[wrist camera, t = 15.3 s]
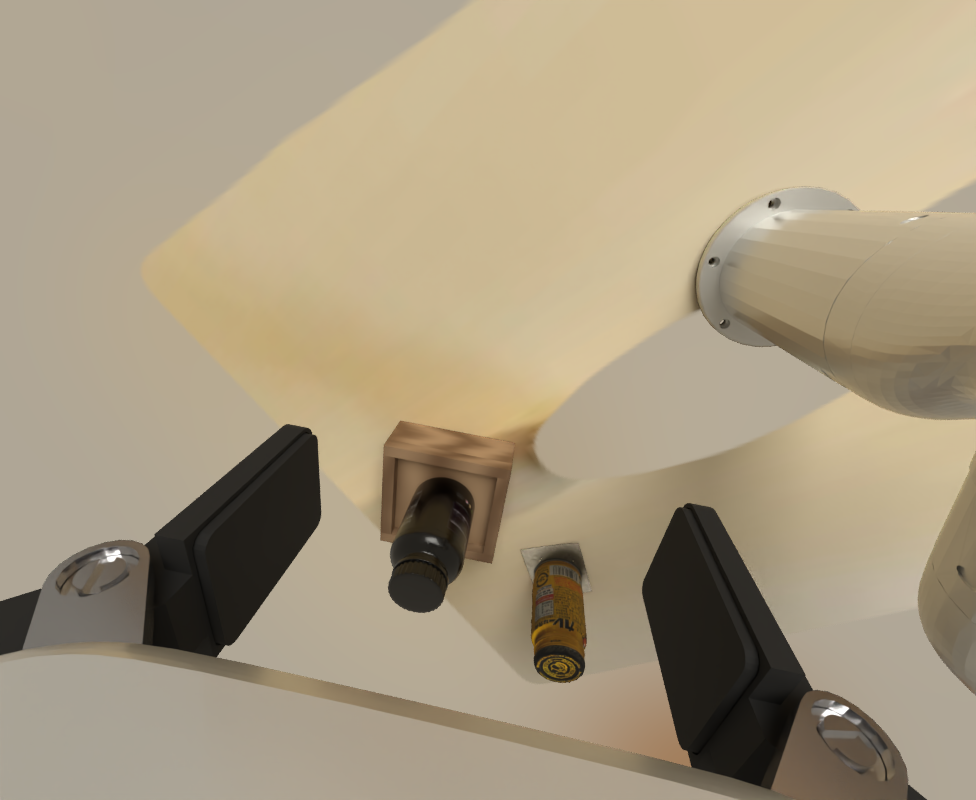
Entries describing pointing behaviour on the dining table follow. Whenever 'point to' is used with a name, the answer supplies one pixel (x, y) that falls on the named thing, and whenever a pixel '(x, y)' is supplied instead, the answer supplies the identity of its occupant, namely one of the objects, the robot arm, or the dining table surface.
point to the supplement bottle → (431, 544)
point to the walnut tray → (453, 456)
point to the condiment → (558, 610)
